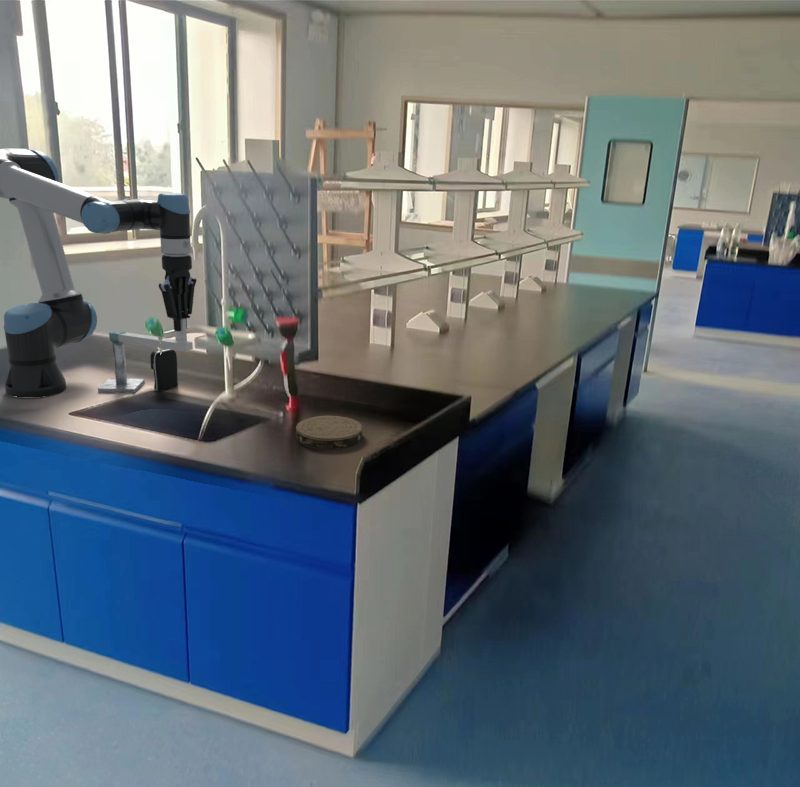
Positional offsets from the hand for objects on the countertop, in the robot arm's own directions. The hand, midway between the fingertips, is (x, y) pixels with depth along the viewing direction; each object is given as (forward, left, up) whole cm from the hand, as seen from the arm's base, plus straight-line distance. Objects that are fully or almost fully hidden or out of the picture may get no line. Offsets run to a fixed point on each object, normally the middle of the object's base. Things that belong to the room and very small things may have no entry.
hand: (181, 341), depth 199 cm
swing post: (-19, +6, -15) cm, 25 cm away
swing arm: (-9, +2, -1) cm, 9 cm away
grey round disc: (+41, -31, -16) cm, 54 cm away
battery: (-7, +6, -16) cm, 18 cm away
